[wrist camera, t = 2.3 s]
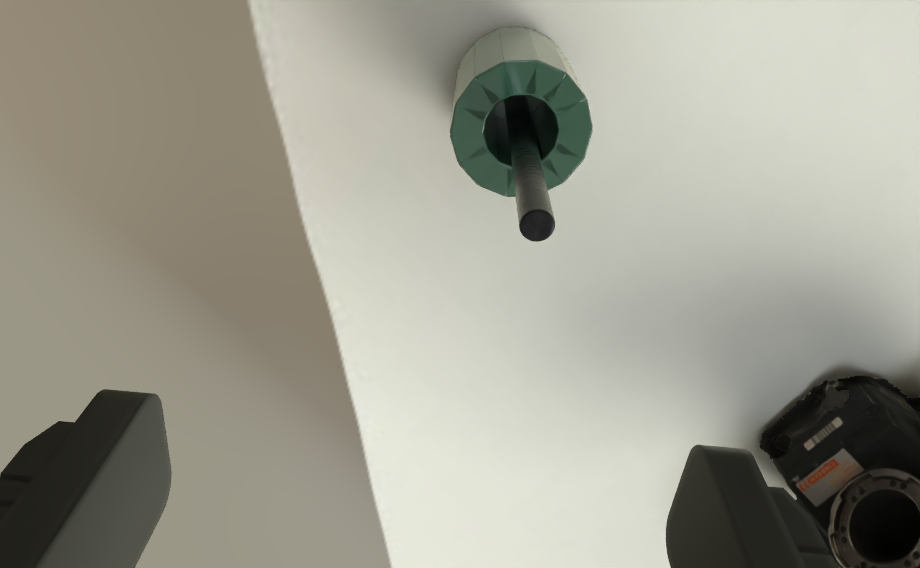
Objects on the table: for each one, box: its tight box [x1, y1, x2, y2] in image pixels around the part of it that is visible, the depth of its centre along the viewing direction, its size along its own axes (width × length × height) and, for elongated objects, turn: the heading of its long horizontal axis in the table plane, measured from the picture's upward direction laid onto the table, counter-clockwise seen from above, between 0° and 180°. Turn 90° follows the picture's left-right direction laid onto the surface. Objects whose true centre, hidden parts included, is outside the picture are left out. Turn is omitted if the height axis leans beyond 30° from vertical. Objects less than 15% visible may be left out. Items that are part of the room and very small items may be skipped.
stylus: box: [504, 95, 555, 241], centre depth 26 cm, size 1×1×15 cm
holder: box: [450, 27, 592, 197], centre depth 30 cm, size 5×6×7 cm
